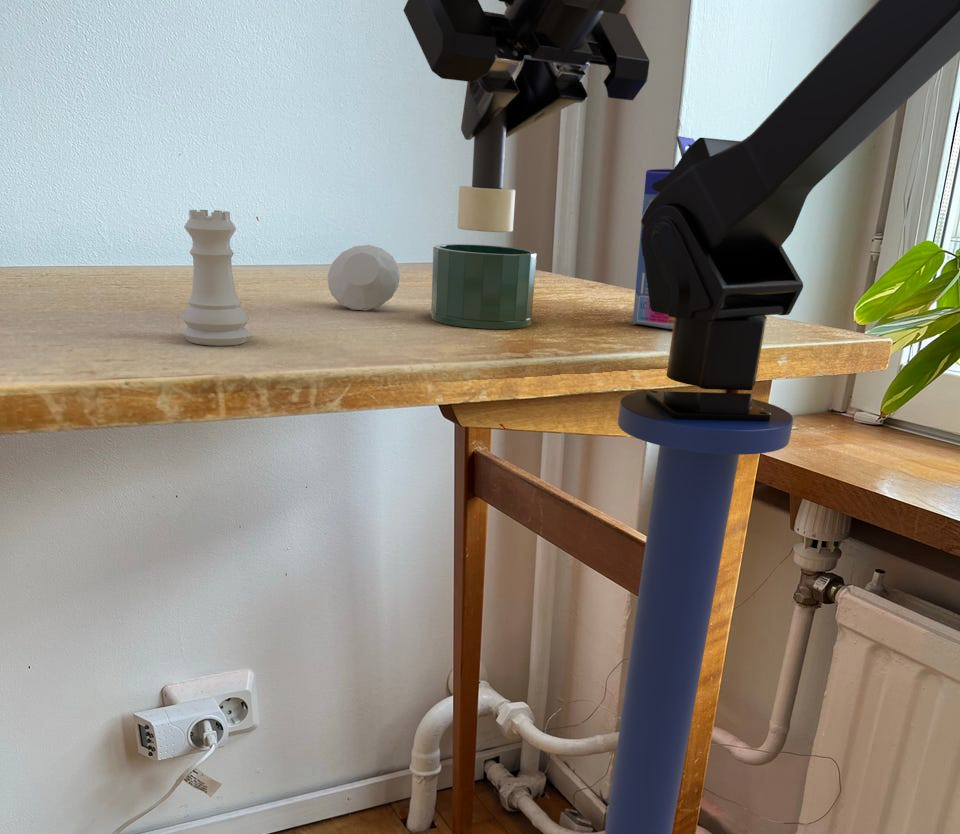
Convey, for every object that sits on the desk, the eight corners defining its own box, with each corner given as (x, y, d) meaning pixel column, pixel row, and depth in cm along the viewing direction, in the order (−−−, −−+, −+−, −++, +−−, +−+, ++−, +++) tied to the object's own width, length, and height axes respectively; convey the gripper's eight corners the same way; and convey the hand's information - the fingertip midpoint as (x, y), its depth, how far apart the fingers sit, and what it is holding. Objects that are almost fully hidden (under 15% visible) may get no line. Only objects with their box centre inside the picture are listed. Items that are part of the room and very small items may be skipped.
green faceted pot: (540, 330, 78) (546, 256, 75) (436, 327, 76) (439, 251, 74) (521, 314, 85) (526, 246, 82) (426, 311, 83) (428, 242, 81)
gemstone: (403, 268, 87) (395, 232, 82) (407, 330, 85) (400, 298, 80) (334, 275, 87) (322, 240, 82) (337, 337, 86) (326, 306, 81)
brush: (503, 233, 75) (515, 34, 69) (449, 228, 76) (457, 33, 70) (519, 230, 79) (532, 42, 73) (467, 226, 80) (476, 40, 74)
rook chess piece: (264, 340, 67) (259, 213, 63) (222, 349, 63) (215, 214, 60) (211, 332, 68) (204, 207, 65) (168, 340, 65) (157, 209, 61)
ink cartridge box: (670, 313, 91) (694, 139, 85) (727, 321, 89) (756, 142, 82) (625, 324, 83) (648, 133, 77) (686, 332, 81) (715, 136, 74)
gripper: (641, -119, 70) (531, 65, 82) (423, -183, 59) (335, 39, 72) (708, 4, 67) (584, 173, 80) (495, -40, 57) (391, 163, 70)
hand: (479, 136), depth 75 cm, fingers closed on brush, 2 cm apart
